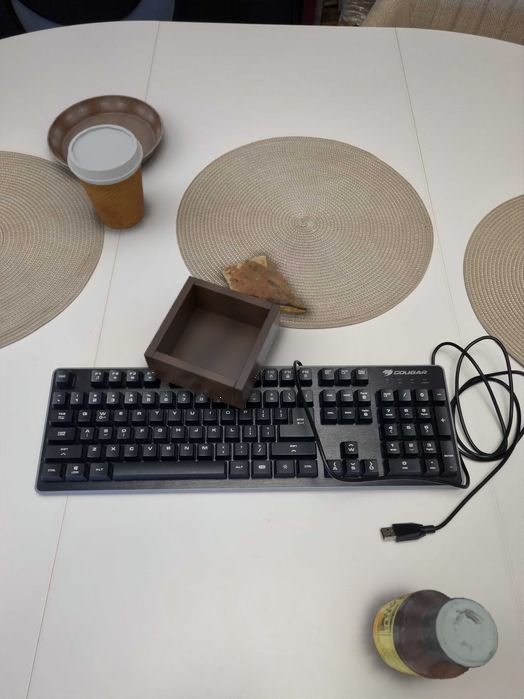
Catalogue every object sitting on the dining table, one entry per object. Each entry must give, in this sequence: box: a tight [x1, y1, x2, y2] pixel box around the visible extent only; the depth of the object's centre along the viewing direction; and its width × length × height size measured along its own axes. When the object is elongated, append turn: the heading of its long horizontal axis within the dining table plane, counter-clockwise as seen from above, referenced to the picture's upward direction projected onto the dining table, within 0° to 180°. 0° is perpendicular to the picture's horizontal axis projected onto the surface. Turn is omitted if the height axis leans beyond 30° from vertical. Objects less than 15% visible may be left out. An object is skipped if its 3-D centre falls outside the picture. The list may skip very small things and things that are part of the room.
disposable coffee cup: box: [67, 125, 145, 230], centre depth 73 cm, size 10×10×12 cm
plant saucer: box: [46, 94, 164, 169], centre depth 84 cm, size 18×18×3 cm
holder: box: [143, 275, 282, 411], centre depth 65 cm, size 12×12×6 cm
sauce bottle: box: [372, 588, 499, 680], centre depth 43 cm, size 6×6×20 cm
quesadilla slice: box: [221, 255, 308, 314], centre depth 71 cm, size 11×8×2 cm
